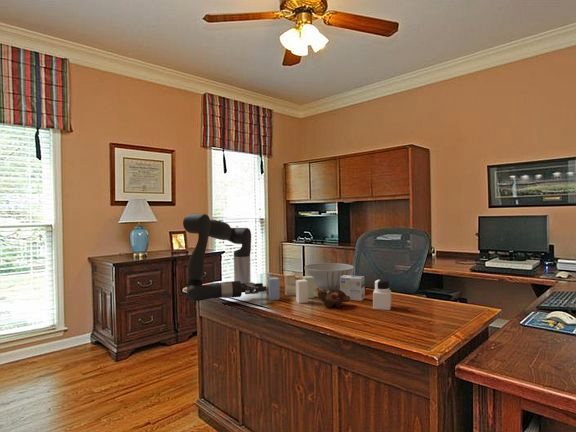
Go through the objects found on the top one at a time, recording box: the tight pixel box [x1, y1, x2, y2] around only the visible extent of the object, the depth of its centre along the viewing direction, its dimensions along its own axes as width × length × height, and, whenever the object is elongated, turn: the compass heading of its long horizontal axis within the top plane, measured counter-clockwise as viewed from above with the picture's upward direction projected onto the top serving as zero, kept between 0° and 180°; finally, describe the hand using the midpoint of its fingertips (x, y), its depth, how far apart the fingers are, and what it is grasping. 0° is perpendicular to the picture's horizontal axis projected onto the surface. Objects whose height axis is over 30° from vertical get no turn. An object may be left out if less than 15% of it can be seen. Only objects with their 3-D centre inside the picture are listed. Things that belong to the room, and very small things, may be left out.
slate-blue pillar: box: [267, 276, 280, 301], centre depth 180 cm, size 4×4×10 cm
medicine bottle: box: [372, 279, 392, 311], centre depth 162 cm, size 7×7×12 cm
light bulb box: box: [340, 275, 366, 302], centre depth 179 cm, size 11×7×11 cm, turn 65°
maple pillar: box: [284, 273, 296, 297], centre depth 189 cm, size 4×4×10 cm
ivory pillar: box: [295, 279, 309, 304], centre depth 174 cm, size 4×4×10 cm
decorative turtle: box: [316, 289, 351, 309], centre depth 165 cm, size 10×15×8 cm, turn 108°
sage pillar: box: [302, 275, 315, 299], centre depth 183 cm, size 4×4×10 cm
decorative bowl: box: [304, 262, 355, 291], centre depth 201 cm, size 27×27×12 cm
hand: (264, 287), depth 179 cm, fingers open, 8 cm apart
